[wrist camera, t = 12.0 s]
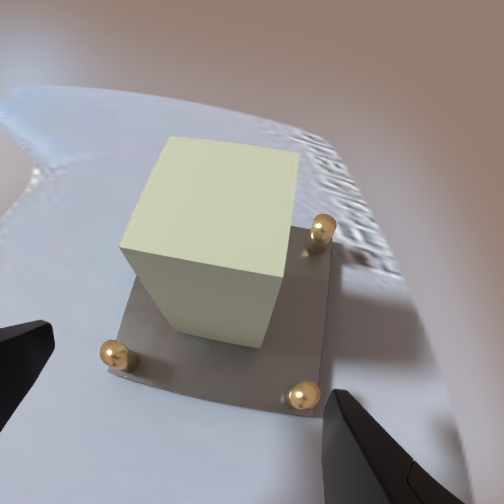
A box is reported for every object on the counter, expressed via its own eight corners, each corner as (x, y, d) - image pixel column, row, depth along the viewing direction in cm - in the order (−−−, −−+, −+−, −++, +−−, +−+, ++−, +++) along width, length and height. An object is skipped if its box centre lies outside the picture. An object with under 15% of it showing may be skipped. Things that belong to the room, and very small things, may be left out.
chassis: (328, 240, 23) (341, 213, 20) (309, 416, 17) (323, 416, 14) (165, 213, 23) (156, 183, 20) (113, 374, 17) (90, 365, 14)
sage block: (260, 348, 18) (283, 277, 9) (175, 331, 18) (119, 246, 9) (273, 270, 20) (299, 153, 11) (196, 256, 20) (169, 136, 12)
